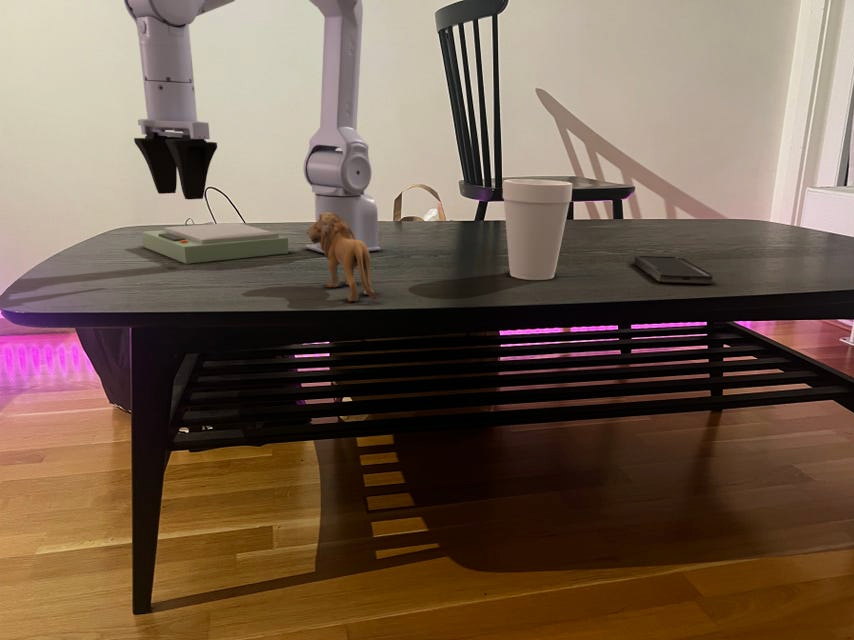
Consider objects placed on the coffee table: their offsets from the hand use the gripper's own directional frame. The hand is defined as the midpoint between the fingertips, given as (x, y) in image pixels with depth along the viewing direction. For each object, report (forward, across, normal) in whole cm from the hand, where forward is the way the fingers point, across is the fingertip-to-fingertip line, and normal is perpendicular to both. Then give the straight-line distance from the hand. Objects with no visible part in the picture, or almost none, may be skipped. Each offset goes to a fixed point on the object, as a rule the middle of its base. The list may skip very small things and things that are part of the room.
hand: (180, 196), depth 90 cm
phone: (+10, +42, +55) cm, 70 cm away
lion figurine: (+10, +21, +10) cm, 25 cm away
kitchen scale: (+10, -13, +11) cm, 20 cm away
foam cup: (+10, +30, +36) cm, 48 cm away
